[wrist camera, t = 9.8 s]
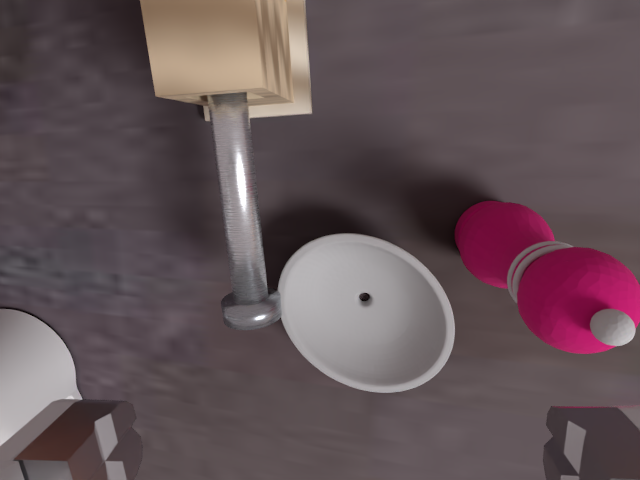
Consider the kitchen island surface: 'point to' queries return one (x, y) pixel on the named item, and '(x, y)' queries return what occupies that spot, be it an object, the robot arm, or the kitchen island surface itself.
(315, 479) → the kitchen island surface
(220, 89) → the bracket
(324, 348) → the dish
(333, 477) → the kitchen island surface
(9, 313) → the robot arm
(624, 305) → the pepper mill
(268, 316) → the shaft
